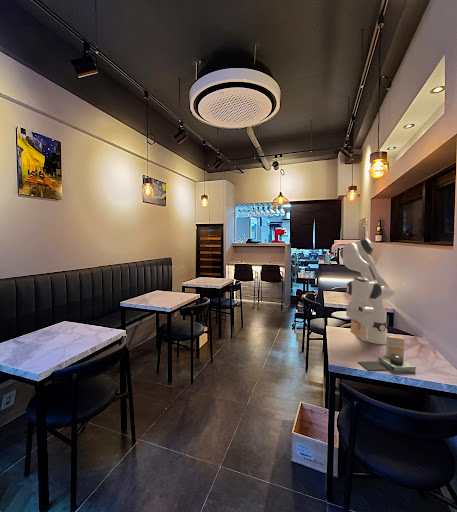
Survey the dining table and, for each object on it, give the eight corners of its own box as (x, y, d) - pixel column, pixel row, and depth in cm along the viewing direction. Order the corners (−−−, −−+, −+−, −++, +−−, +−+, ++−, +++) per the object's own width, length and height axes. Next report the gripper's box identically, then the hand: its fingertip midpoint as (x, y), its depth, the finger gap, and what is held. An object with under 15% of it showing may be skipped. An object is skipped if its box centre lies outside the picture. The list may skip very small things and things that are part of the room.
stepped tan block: (350, 332, 145) (351, 318, 145) (360, 332, 146) (361, 318, 145) (355, 335, 141) (356, 321, 140) (365, 335, 141) (365, 321, 141)
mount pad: (358, 362, 140) (358, 361, 140) (376, 362, 141) (376, 361, 141) (368, 371, 131) (368, 369, 131) (388, 370, 132) (388, 369, 132)
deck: (377, 361, 141) (378, 351, 141) (397, 361, 142) (398, 351, 142) (393, 372, 129) (394, 361, 129) (415, 372, 130) (416, 361, 130)
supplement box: (401, 358, 147) (403, 336, 146) (403, 361, 143) (405, 339, 142) (385, 355, 150) (386, 333, 150) (386, 358, 146) (388, 336, 145)
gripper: (344, 301, 152) (342, 323, 153) (365, 310, 132) (364, 335, 133) (353, 301, 153) (352, 323, 154) (376, 310, 133) (375, 335, 133)
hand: (358, 329), depth 143 cm, fingers closed on stepped tan block, 4 cm apart
